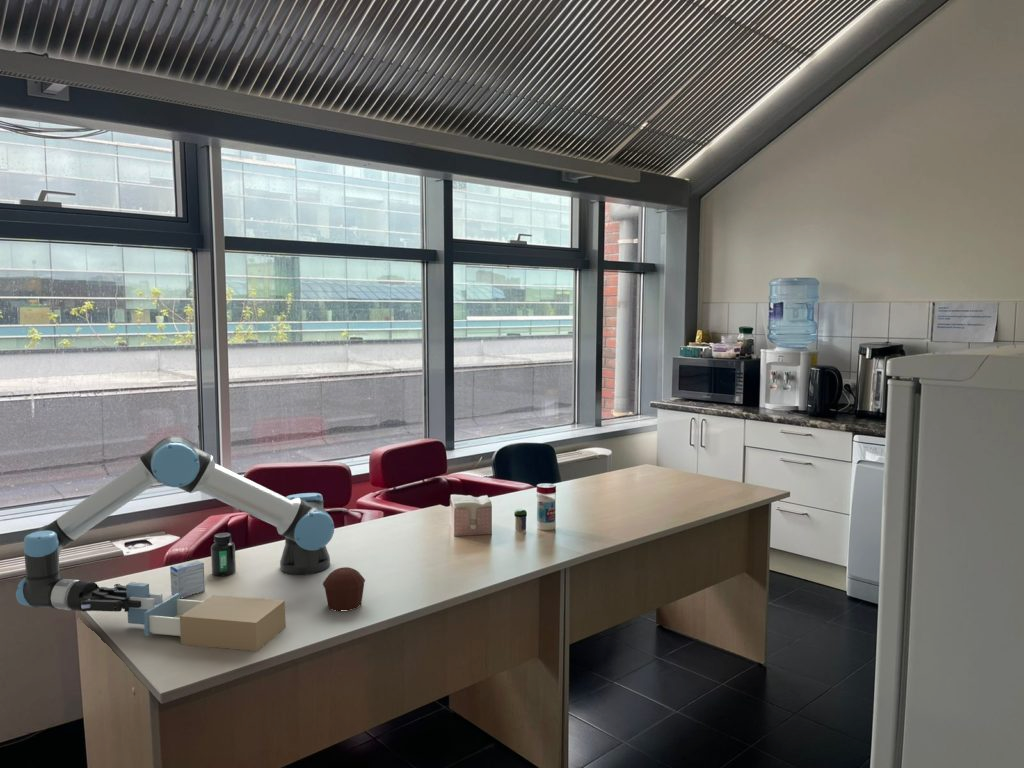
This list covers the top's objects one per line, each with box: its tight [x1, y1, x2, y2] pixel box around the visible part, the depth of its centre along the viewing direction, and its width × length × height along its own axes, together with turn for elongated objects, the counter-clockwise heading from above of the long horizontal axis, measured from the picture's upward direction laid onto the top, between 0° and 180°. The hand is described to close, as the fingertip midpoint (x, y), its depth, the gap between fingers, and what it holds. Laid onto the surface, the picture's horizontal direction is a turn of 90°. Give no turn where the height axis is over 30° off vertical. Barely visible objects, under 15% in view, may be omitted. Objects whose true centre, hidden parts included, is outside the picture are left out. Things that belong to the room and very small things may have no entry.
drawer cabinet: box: [180, 594, 287, 652], centre depth 189 cm, size 20×14×7 cm
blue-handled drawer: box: [125, 581, 204, 637], centre depth 192 cm, size 29×13×10 cm, turn 79°
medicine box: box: [169, 559, 206, 599], centre depth 217 cm, size 8×4×9 cm, turn 141°
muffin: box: [322, 566, 366, 612], centre depth 209 cm, size 12×11×10 cm
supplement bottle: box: [210, 532, 237, 577], centre depth 234 cm, size 7×7×12 cm
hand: (157, 601), depth 193 cm, fingers open, 2 cm apart
